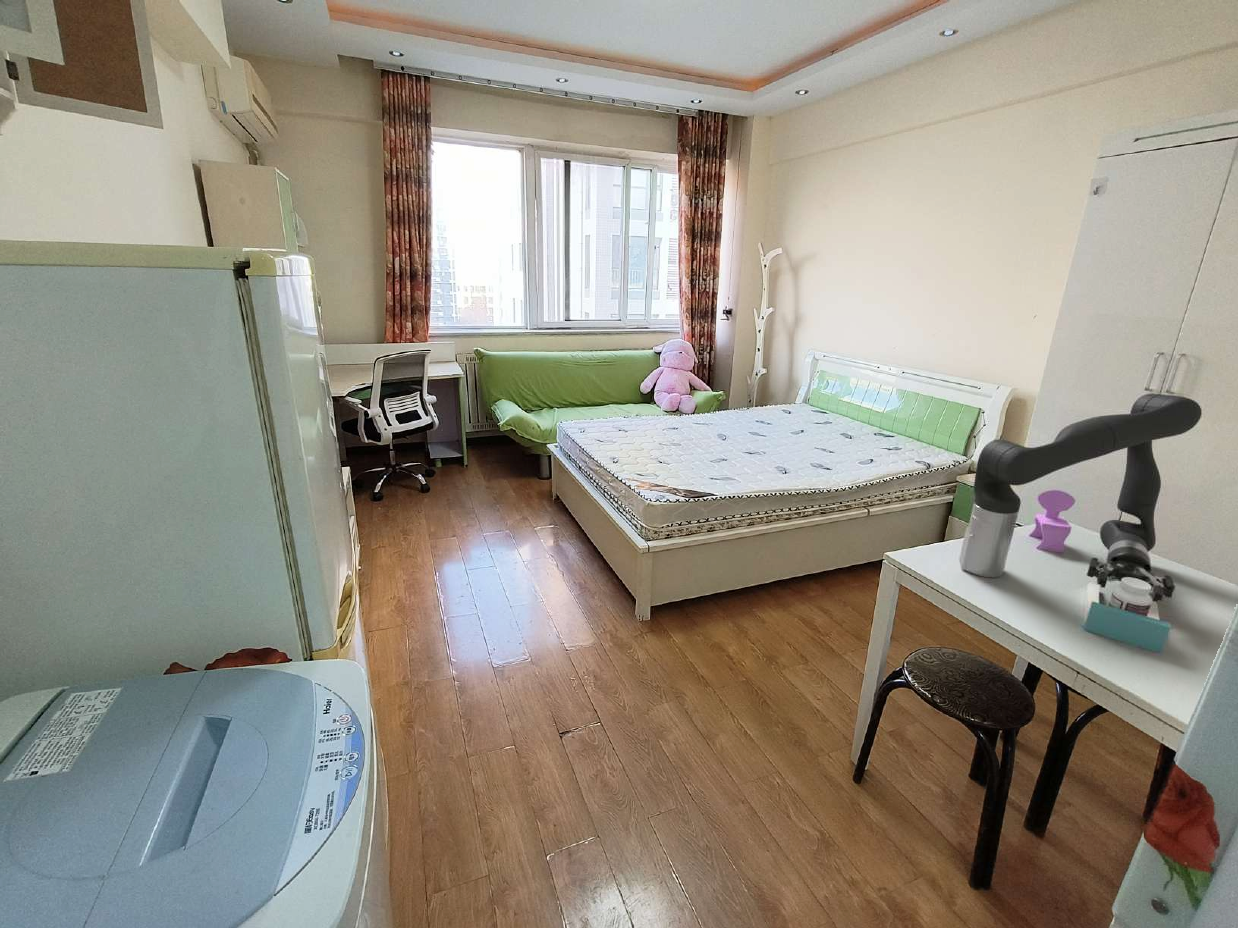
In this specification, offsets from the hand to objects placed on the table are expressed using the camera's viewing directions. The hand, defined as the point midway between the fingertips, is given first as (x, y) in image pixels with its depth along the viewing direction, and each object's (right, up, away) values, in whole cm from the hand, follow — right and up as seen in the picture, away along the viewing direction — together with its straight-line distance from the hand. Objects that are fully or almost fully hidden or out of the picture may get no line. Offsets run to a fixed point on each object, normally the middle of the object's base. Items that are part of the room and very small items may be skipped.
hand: (1129, 590), depth 120 cm
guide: (+1, -6, +3) cm, 7 cm away
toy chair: (+8, +5, +34) cm, 35 cm away
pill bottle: (-3, -8, -1) cm, 8 cm away
